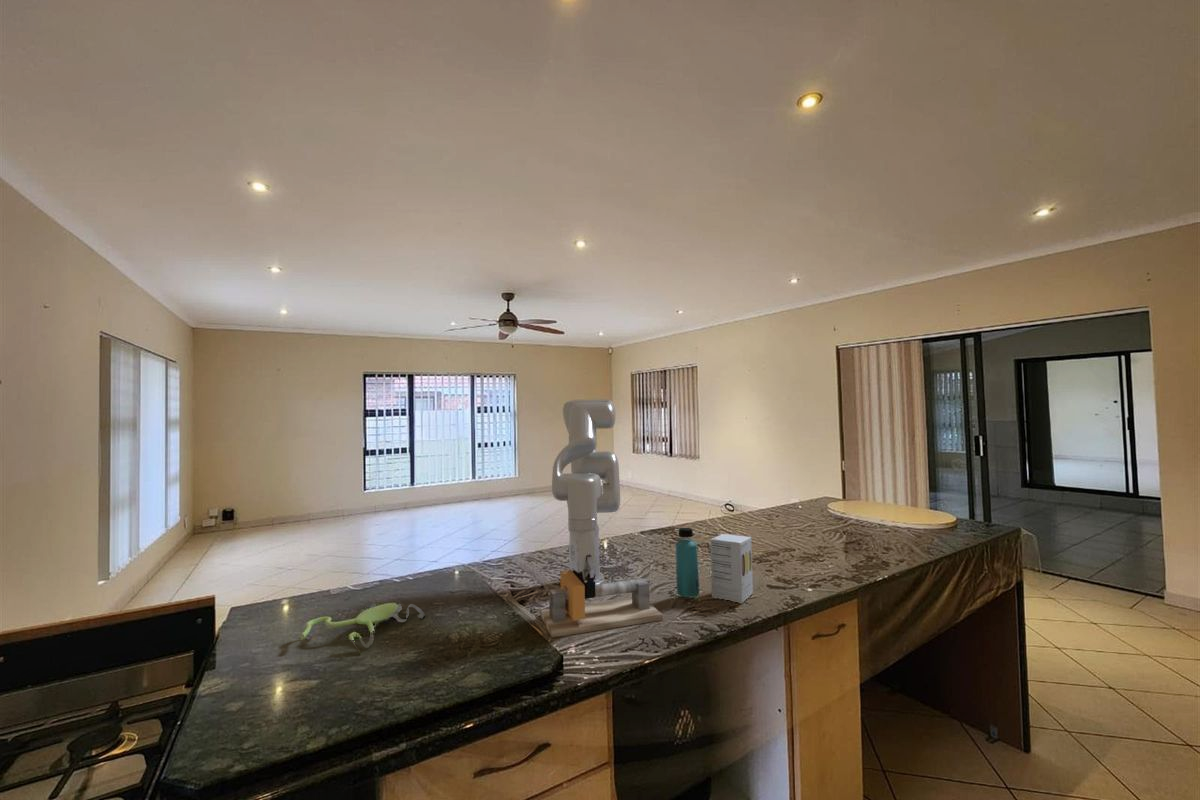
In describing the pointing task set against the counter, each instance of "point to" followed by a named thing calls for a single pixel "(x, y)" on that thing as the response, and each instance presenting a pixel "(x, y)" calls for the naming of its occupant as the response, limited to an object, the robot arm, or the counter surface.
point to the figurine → (357, 619)
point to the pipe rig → (601, 609)
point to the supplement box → (731, 567)
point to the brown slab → (573, 595)
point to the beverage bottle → (687, 565)
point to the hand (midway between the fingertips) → (583, 591)
